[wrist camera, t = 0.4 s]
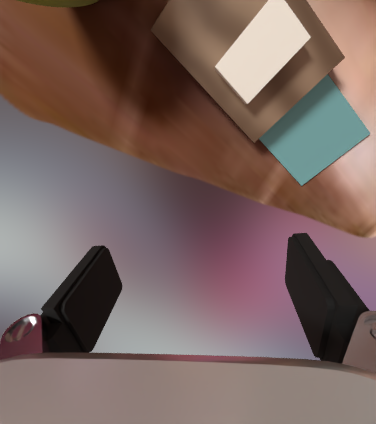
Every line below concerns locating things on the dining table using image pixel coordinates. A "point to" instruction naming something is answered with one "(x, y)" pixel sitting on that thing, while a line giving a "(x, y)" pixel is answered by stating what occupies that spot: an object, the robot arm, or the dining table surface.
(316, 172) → the mat
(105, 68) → the dining table surface
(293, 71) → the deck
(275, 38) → the cream rectangular block
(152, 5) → the dining table surface
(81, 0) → the flower pot
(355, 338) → the robot arm
